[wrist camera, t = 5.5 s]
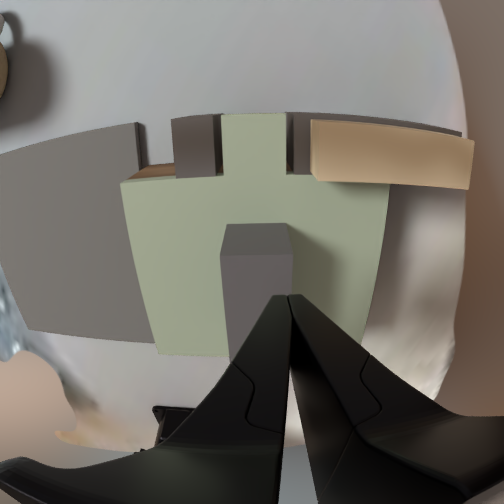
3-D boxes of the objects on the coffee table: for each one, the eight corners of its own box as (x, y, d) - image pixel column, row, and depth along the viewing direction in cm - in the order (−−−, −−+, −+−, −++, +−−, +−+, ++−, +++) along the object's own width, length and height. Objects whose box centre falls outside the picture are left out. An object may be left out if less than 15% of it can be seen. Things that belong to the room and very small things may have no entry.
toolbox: (393, 306, 24) (414, 343, 20) (172, 313, 24) (158, 354, 20) (422, 123, 17) (461, 132, 13) (144, 121, 18) (113, 127, 13)
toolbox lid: (356, 343, 21) (371, 388, 17) (161, 346, 21) (146, 392, 17) (388, 119, 14) (429, 127, 10) (119, 126, 14) (78, 136, 10)
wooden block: (448, 179, 14) (468, 189, 12) (310, 171, 14) (318, 181, 12) (452, 135, 13) (474, 141, 11) (310, 119, 13) (319, 121, 11)
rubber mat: (173, 339, 26) (171, 344, 25) (31, 326, 26) (28, 329, 26) (137, 122, 18) (134, 122, 17) (-21, 162, 18) (-25, 163, 18)
